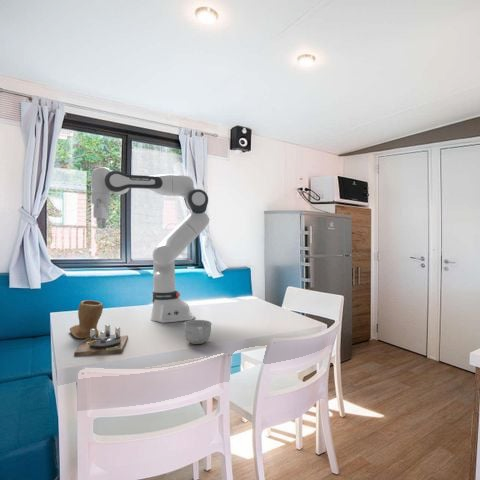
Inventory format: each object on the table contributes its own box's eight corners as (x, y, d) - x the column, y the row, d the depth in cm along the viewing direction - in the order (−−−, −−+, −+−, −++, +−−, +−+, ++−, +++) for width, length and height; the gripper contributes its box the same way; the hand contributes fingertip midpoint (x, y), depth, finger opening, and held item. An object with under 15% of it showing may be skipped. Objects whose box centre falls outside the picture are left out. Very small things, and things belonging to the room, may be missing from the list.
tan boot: (106, 337, 139) (105, 301, 139) (75, 342, 132) (74, 305, 132) (97, 329, 152) (97, 296, 151) (69, 333, 145) (68, 299, 145)
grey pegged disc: (122, 337, 132) (122, 323, 132) (118, 346, 121) (118, 331, 121) (92, 339, 130) (92, 325, 130) (85, 349, 119) (85, 333, 119)
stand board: (127, 339, 136) (127, 334, 136) (121, 353, 120) (121, 348, 119) (86, 341, 133) (86, 337, 133) (74, 356, 116) (74, 351, 116)
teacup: (185, 338, 137) (185, 319, 137) (211, 337, 138) (211, 318, 138) (182, 349, 123) (182, 328, 123) (211, 348, 124) (211, 327, 124)
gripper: (104, 198, 154) (104, 227, 154) (110, 202, 174) (111, 228, 174) (89, 197, 153) (90, 227, 153) (98, 202, 172) (98, 228, 173)
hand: (101, 228), depth 164 cm, fingers open, 8 cm apart
